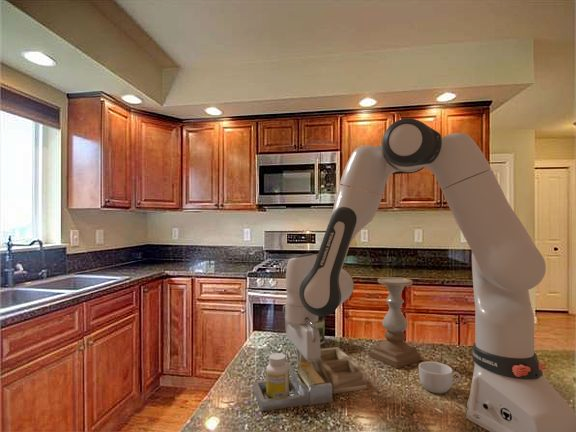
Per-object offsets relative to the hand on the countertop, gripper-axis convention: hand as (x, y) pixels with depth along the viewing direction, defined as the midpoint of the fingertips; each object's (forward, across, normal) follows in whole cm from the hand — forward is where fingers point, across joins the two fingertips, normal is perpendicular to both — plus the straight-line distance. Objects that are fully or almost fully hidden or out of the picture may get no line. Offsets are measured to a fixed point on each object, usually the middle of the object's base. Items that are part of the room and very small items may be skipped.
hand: (301, 364), depth 96 cm
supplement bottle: (+3, -10, +9) cm, 14 cm away
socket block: (+3, -5, +6) cm, 8 cm away
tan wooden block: (+3, -8, 0) cm, 8 cm away
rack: (+3, -2, -9) cm, 10 cm away
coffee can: (+3, +24, -11) cm, 27 cm away
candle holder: (+3, +4, -31) cm, 31 cm away
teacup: (+3, -16, -31) cm, 35 cm away
